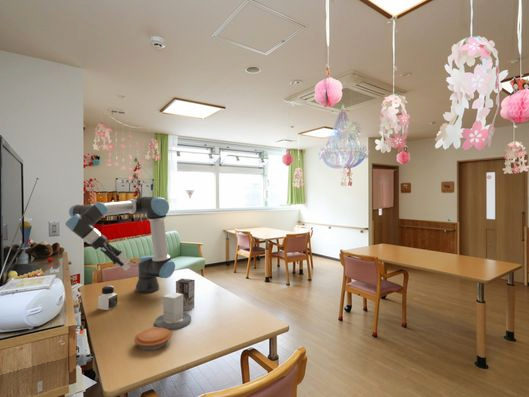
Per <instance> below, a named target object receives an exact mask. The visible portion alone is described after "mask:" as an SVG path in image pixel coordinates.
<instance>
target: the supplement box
mask: <svg viewBox="0 0 529 397" xmlns="http://www.w3.org/2000/svg"><path fill="white" fill-rule="evenodd" d="M162 299H163V300H162V302H163V303H162V304H163V307H162V310H163V311H162V315H163V320H164V321H168V322H172V323H174V322H176V321H178V320H180V319H182V318H183V313H184V310H183V294H180V293H176V291H172V292H169V293H168V294H165V295H163V298H162Z"/></svg>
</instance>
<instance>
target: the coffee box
mask: <svg viewBox="0 0 529 397" xmlns="http://www.w3.org/2000/svg"><path fill="white" fill-rule="evenodd" d="M195 282H196V280H195V279H190V278H180V279H178V280H176V281H175V293H180V294H183V311H190V310H192V309H194V308H195V289H196V288H195Z"/></svg>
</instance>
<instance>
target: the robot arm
mask: <svg viewBox="0 0 529 397" xmlns="http://www.w3.org/2000/svg"><path fill="white" fill-rule="evenodd" d="M68 210H69V211H68V214H69V216H70V218H69V219H68V220H67V221H66V222H65V226H66V227H67V228H68V229H69V230H70V231H72V233H74V234H75V235H77V236H78V237H79V238H81V239H82V240H83V243H86V244H88V245H90V247H91V248H93V249H94V250H98V249H99V248H100V251H101V253H102V252H103V254H105V256H106V257H107V258H108V259H110V261H111V262H112V263H113V265H115V264H116V265H118V266H119V267H120V268H121V269H122V270H124V271H125V272H127V271H128V270H129V269H130V268H131V266H130V265H128V264H129V263H130V262H131V260H130V259H129V258H128V257H126V256H125V255H124V254H123V253H122V251H121V250H119V249H117V248H116V247H114V246H113V245H111V244H110V243H109V242H107V240H108V237H107V236H105V235H104V234H102V233H101V231H99V229H98V228H95V227H94V226H95V224H96V223H97V222H98V221H99V220H101V219H102V218H103V217H106V216H113V215H121V214H132V215H133V214H138V215H139V214H140V215H146V219H147V220H148V221H149V223H150V235H151V241H152V242H151V243H152V249H153V254H151V255H144V256H141V257H139V259H138V277H137V278H138V279H137V282H136V285H135V292H136V293H139V294H149V293H154V292H157V291H159V290H160V283H159V280H158V278H160V279H168V278H170V277H171V276H173V274H174V272H175V271H176V270H175V269H176V263H175V262H174V261H173V260H172V259H171V255H170V254H169V253H168V245H167V236H166V226H165V219H166V217H167V214H168V212H169V210H170V205H169V202H168V200H167V199H166V198H164V197H160V196H141V197H135V198H129V199H127V200H124V201H123V200H122V201H120V200H119V201H110V202H101V201H96V202H95V203H91V204H75V205H72V206H71V207H70V208H69V209H68Z"/></svg>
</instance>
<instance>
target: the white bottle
mask: <svg viewBox="0 0 529 397" xmlns="http://www.w3.org/2000/svg"><path fill="white" fill-rule="evenodd" d="M97 300H98V301H97V309H98V310H105V311H110V310H111V309H114V308H115V307H117V306H118V293H115V287H114V286H112V285H106V286H103V287H102V288H101V295H99V296H98V297H97Z"/></svg>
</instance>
